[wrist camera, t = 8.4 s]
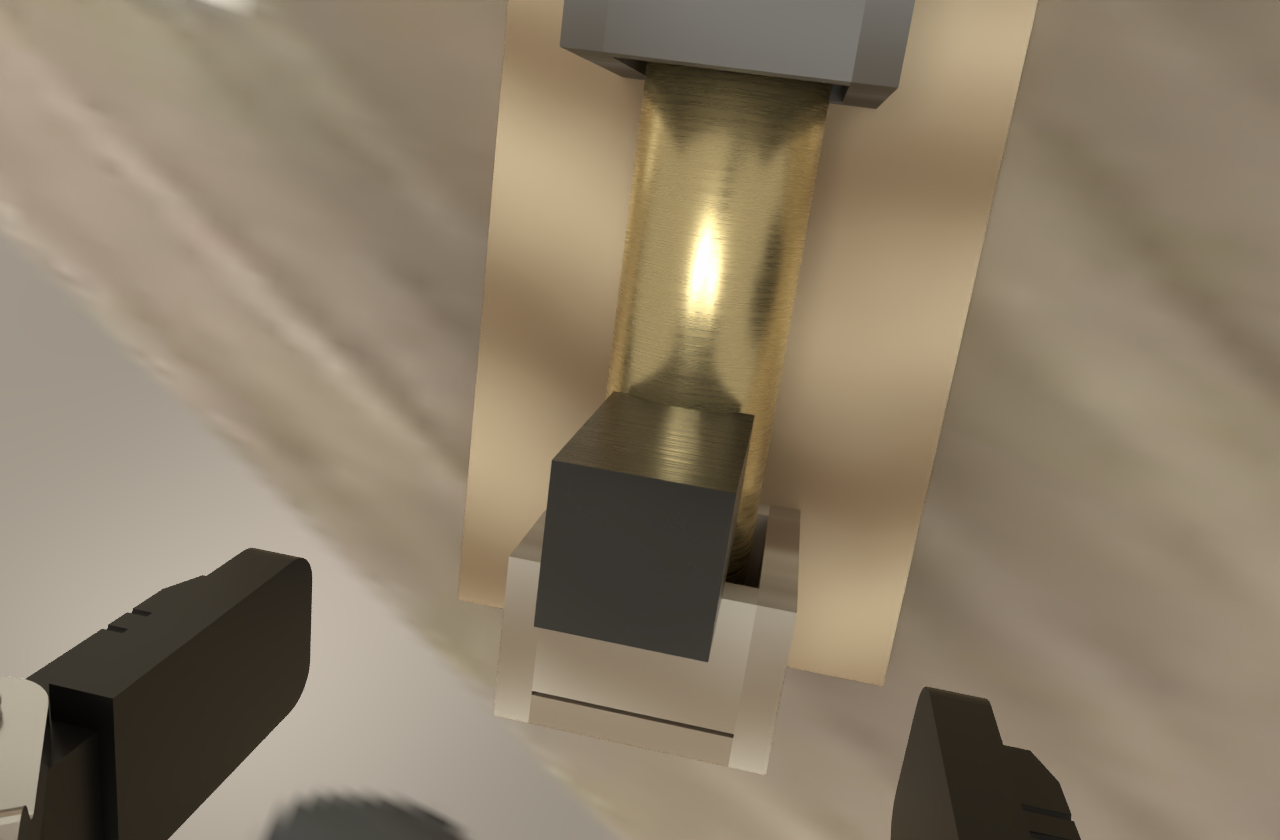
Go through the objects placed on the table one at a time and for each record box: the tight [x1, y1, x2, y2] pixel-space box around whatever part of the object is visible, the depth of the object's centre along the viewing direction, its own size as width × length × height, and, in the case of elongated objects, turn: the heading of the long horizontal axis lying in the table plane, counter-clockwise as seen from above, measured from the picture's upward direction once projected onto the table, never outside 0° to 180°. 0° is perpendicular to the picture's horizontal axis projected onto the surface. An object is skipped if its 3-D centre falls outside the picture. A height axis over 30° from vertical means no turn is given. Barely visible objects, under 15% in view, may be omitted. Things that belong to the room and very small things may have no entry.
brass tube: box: [534, 61, 832, 662], centre depth 19 cm, size 17×4×8 cm, turn 173°
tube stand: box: [458, 0, 1038, 775], centre depth 20 cm, size 28×12×7 cm, turn 173°
